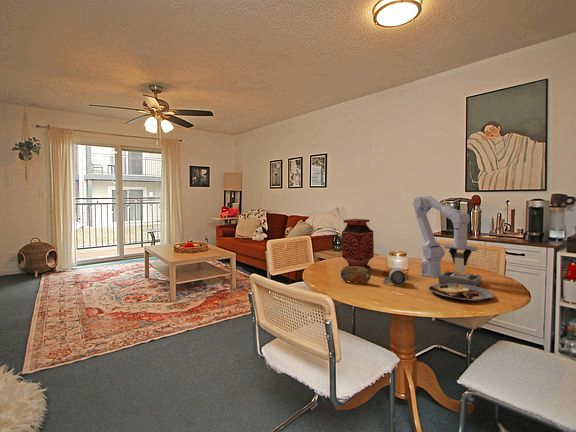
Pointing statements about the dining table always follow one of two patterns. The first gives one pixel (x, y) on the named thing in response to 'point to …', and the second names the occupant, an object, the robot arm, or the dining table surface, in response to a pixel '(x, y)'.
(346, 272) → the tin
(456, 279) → the caddy
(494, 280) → the dining table surface
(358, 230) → the vase
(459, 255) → the block
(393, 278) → the ceramic mug
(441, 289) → the food plate
